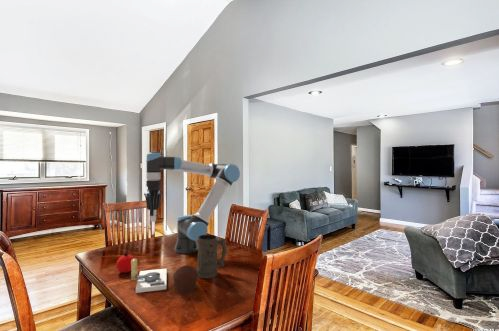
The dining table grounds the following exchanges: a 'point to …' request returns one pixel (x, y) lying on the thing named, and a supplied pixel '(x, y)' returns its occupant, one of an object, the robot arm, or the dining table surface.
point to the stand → (154, 285)
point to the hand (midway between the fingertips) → (153, 221)
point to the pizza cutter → (148, 277)
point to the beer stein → (209, 255)
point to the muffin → (185, 279)
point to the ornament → (124, 263)
